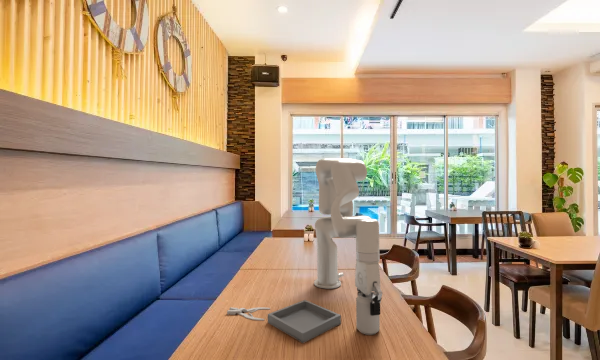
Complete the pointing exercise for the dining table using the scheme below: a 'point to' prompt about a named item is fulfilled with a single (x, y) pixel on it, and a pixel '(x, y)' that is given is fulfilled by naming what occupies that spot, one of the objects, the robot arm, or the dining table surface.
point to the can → (366, 315)
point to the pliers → (239, 311)
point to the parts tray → (304, 320)
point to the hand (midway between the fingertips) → (368, 308)
